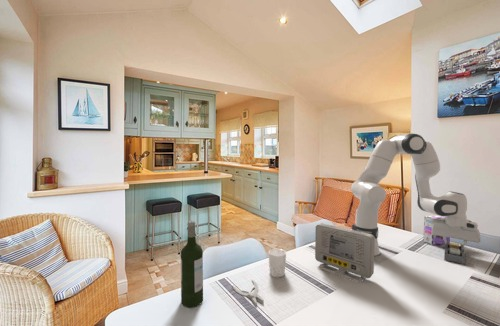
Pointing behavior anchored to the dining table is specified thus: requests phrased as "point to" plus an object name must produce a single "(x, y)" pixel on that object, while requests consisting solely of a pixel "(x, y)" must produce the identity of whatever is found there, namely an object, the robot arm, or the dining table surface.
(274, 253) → the white cup
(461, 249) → the grey cube holder tray
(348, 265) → the network device
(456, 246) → the tan wooden toy cube
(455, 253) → the cube in holder slot
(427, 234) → the candy box
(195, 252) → the wine bottle
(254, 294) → the pliers
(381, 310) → the dining table surface
